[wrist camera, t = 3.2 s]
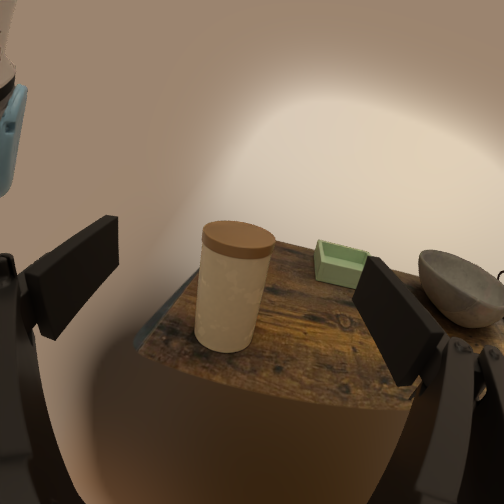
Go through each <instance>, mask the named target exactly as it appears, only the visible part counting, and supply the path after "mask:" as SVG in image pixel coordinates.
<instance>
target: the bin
mask: <svg viewBox="0 0 504 504" xmlns="http://www.w3.org/2000/svg"><path fill="white" fill-rule="evenodd" d="M367 256H371V255H370V254H369V252H367V251H363V250H359V249H354V248H351V247H347V246H342V245H339V244H335V243H330V242H326V241H321V240H318V241H317V245H316V249H315V252H314V264H315V276H316V280H317V281H322V282H326V283H331V284H335V285H340V286H344V287H349V288H353V289H356V287H357V284H358V282H359V279H360V276H361V273H362V270H363V267H364V265H365V262H366V259H367Z"/></svg>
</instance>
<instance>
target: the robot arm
mask: <svg viewBox="0 0 504 504" xmlns="http://www.w3.org/2000/svg"><path fill="white" fill-rule="evenodd" d="M16 2H17V0H0V197H2V196H4V195H5V194H6V193H7V192H8V190H9V189H10V187H11V184H12V180H13V175H14V170H15V163H16V157H17V151H18V144H19V139H20V133H21V128H22V122H23V116H24V111H25V106H26V99H27V92H28V90H27V87H26V86H22V85H21V84H18V85H17V86H14V81H15V73H16V66H15V65H14V64H13V63H12V62H11V61H10V60H9V59H8V58H7V57H6V55H5V48H6V42H7V37H8V33H9V28H10V24H11V20H12V16H13V12H14V9H15V5H16ZM118 253H119V250H118V217H117V216H109V215H105V216H103V217H102V218H100V219H99V220H97V221H95V222H94V223H92V224H91V225H89V226H88V227H86V228H85V229H83V230H82V231H80V232H79V233H77V234H75V235H74V236H72V237H71V238H70V239H68V240H67V241H65V242H64V243H62V244H61V245H60V246H58V247H57V248H55V249H54V250H52V251H51V252H49V253H46V254H45V255H43V256H42V257H40V258H39V260H36V261H35V262H34V263H33V264H31V265H30V266H28V267H27V268H26V269H25V270H23V271H22V272H21V273H19V274H18V275H17V273H16V268H15V263H14V258H13V255H11V254H8V253H1V254H0V504H85V503H84V501H83V500H82V499H81V497H80V496H79V495H78V493H77V491H76V489H75V487H74V485H73V483H72V481H71V478H70V476H69V474H68V471H67V469H66V466H65V464H64V461H63V459H62V456H61V453H60V450H59V447H58V445H57V441H56V438H55V435H54V432H53V429H52V426H51V422H50V418H49V414H48V411H47V406H46V402H45V398H44V393H43V389H42V383H41V379H40V373H39V367H38V360H37V352H36V344H35V336H34V333H33V330H32V328H33V327H34V326H35V325H36V324H38V327H39V330H40V333H41V335H42V336H44V337H47V338H49V339H52V340H54V341H56V339H57V338H58V337H59V335H60V334H61V333H62V332H63V330H64V329H65V328H66V326H67V325H68V324H69V323H70V321H71V320H72V319H73V318H74V316H75V315H76V314H77V313H78V311H79V310H80V309H81V308H82V307H83V305H84V304H85V303H86V302H87V301H88V299H89V298H90V297H91V296H92V295H93V294H94V292H95V291H96V290H97V289H98V288H99V286H100V285H101V284H102V283H103V282H104V281H105V280H106V279H107V277H108V276H109V275H110V274H111V273H112V272H113V271H114V270H115V269H116V268H117V267H118V265H119V254H118ZM352 301H353V302H354V304H355V306H356V308H357V310H358V311H359V313H360V315H361V317H362V319H363V320H364V322H365V324H366V326H367V328H368V330H369V332H370V334H371V335H372V337H373V339H374V341H375V343H376V345H377V347H378V349H379V351H380V353H381V355H382V357H383V359H384V361H385V363H386V365H387V367H388V369H389V371H390V373H391V375H392V377H393V379H394V381H395V383H396V385H397V387H400V386H409V385H412V384H413V382H414V381H415V379H416V378H417V377H418V375H420V377H421V379H422V382H421V383H420V384H419V386H418V387H417V388H416V390H415V391H414V392H413V394H412V395H411V396H410V398H409V400H411V399H412V398H413V397H414V400H413V403H412V406H411V409H410V413H409V415H408V418H407V421H406V423H405V426H404V429H403V431H402V434H401V436H400V438H399V441H398V443H397V446H396V448H395V450H394V453H393V455H392V457H391V459H390V462H389V463H388V465H387V468H386V470H385V472H384V474H383V475H382V477H381V479H380V481H379V483H378V485H377V487H376V489H375V491H374V492H373V494H372V496H371V498H370V500H369V501H368V503H367V504H504V356H503V355H502V353H501V352H500V350H499V349H498V348H496V347H495V346H494V347H493V346H491V345H485V346H484V348H483V350H482V351H481V353H480V354H477V353H473V349H472V347H471V346H470V345H469V344H468V343H467V342H466V341H464V340H462V339H460V338H458V337H451V338H450V337H449V336H448V335H447V333H446V332H445V331H444V330H443V328H442V327H441V326H440V325H439V323H438V322H436V320H435V319H434V317H432V315H431V314H430V313H429V311H428V310H427V309H426V308H424V306H423V305H422V304H421V303H420V302H419V301H418V299H417V298H416V297H415V296H414V295H413V294H412V292H411V291H410V290H409V289H408V288H407V287H406V286H405V285H404V284H403V282H402V281H401V280H400V279H399V278H398V277H397V276H396V275H395V274H394V273H393V271H392V270H391V269H390V268H389V267H388V266H387V265H386V264H385V263H384V262H383V261H382V260H381V259H380V258H379V257H374V256H367V259H366V262H365V265H364V267H363V270H362V273H361V276H360V279H359V282H358V284H357V287H356V290H355V293H354V295H353V298H352ZM485 388H487V391H486V394H485V396H484V397H483V398H482V399H481V400H479V395H480V394H481V393H482V391H483V390H484V389H485Z"/></svg>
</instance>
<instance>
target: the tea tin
mask: <svg viewBox="0 0 504 504" xmlns="http://www.w3.org/2000/svg"><path fill="white" fill-rule="evenodd" d="M275 241H276V240H275V237H274V236H273V234H271V233H270V232H269V231H267V230H265V229H263V228H261V227H258V226H255V225H252V224H248V223H244V222H238V221H215V222H211V223H208V224H206V225H205V226H204V227H203V233H202V242H203V243H202V251H201V261H200V270H199V281H198V292H197V303H196V316H195V329H194V332H195V336H196V338H197V340H198V341H199V342H200V343H201V344H202V345H204V346H205V347H207V348H208V349H211V350H213V351H217V352H222V353H232V352H237V351H240V350H243V349H244V348H246V347H247V346H248V345H249V344H250V343H251V340H252V337H253V332H254V328H255V324H256V320H257V315H258V311H259V307H260V302H261V298H262V294H263V289H264V285H265V281H266V276H267V272H268V267H269V263H270V258H271V254H272V253H273V250H274V246H275Z"/></svg>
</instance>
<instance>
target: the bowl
mask: <svg viewBox="0 0 504 504" xmlns="http://www.w3.org/2000/svg"><path fill="white" fill-rule="evenodd" d="M418 265H419V277H420V281H421V285H422V287H423V289H424V291H425V293H426V295H427V296H428V298H429V299H430V300H431V302H432V303H433V304H434V305H435V306H436V308H437V309H438V310H439V311H440V312H441V313H442V314H443V315H444V316H446V317H447V318H448V319H449V320H451V321H452V322H454V323H455V324H457V325H460V326H462V327H467V328H480V327H486V326H489V325H491V324H494V323H495V322H497V321H499V320H500V319H502V318H503V317H504V285H503V284H502V283H501V282H500V281H499V280H498V279H496V278H495V277H494V276H492V275H490V274H489V273H488V272H486V271H485V270H484V269H482V268H481V267H479V266H477V265H475V264H473V263H471V262H469V261H467V260H464V259H462V258H460V257H458V256H455V255H453V254H450V253H446V252H442V251H437V250H424V251H422V252H421V253H420V255H419V261H418Z"/></svg>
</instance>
